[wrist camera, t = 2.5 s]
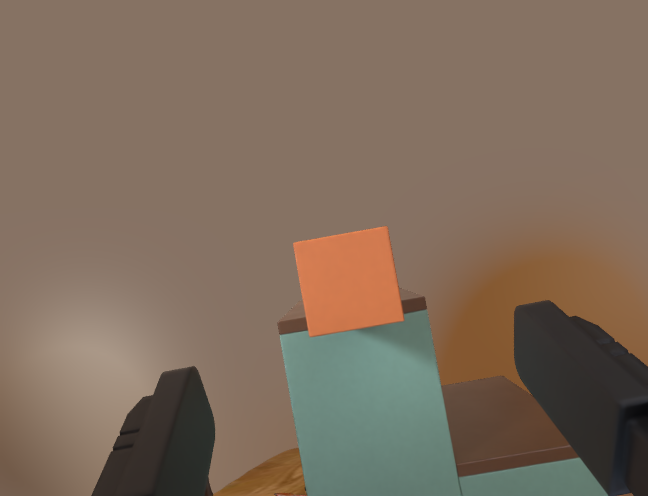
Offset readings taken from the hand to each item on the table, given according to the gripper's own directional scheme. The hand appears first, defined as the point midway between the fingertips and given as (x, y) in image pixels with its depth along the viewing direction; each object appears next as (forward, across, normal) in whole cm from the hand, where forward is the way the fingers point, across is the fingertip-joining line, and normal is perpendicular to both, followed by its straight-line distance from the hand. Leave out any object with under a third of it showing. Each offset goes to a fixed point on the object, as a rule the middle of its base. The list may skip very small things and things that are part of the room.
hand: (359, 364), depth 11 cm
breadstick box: (+16, -1, +8) cm, 18 cm away
